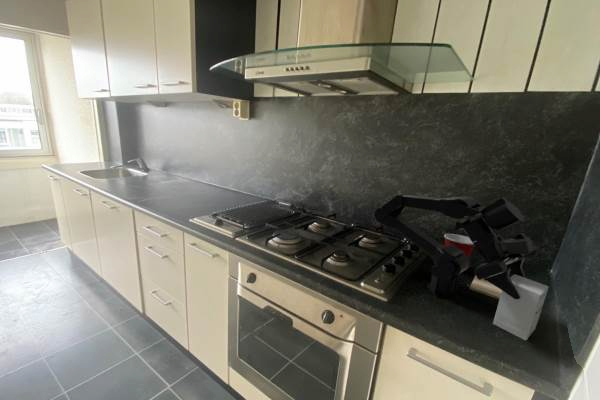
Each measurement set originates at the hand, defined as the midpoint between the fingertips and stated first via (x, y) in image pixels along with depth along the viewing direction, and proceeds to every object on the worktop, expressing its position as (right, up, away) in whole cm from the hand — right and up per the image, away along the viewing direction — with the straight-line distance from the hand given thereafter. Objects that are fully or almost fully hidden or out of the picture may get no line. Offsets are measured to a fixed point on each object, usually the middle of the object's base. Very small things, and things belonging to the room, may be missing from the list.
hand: (522, 293), depth 68 cm
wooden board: (+9, -5, +20) cm, 23 cm away
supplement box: (0, -10, +2) cm, 10 cm away
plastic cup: (+2, -2, +33) cm, 34 cm away
